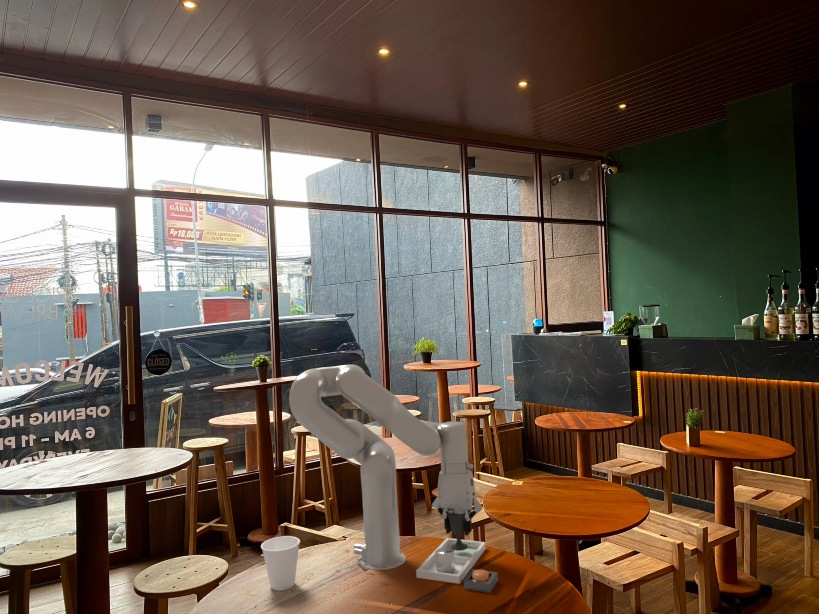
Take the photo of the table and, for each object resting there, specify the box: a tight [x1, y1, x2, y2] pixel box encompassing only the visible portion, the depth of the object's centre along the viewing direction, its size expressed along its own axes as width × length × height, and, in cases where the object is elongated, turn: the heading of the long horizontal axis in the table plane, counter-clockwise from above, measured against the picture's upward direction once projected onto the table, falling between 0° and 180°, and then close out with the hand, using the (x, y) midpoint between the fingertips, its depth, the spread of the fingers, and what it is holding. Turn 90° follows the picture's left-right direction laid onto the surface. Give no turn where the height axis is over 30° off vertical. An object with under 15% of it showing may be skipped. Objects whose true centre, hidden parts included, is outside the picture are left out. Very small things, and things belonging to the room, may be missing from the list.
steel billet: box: [434, 548, 455, 574], centre depth 154 cm, size 5×5×5 cm
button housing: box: [463, 568, 499, 594], centre depth 145 cm, size 7×7×3 cm
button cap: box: [472, 569, 489, 582], centre depth 145 cm, size 4×4×2 cm
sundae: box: [445, 509, 469, 551], centre depth 164 cm, size 7×7×15 cm
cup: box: [260, 535, 301, 592], centre depth 153 cm, size 10×10×11 cm
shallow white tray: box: [415, 537, 487, 585], centre depth 159 cm, size 12×22×3 cm, turn 156°
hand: (458, 532), depth 164 cm, fingers closed on sundae, 4 cm apart
